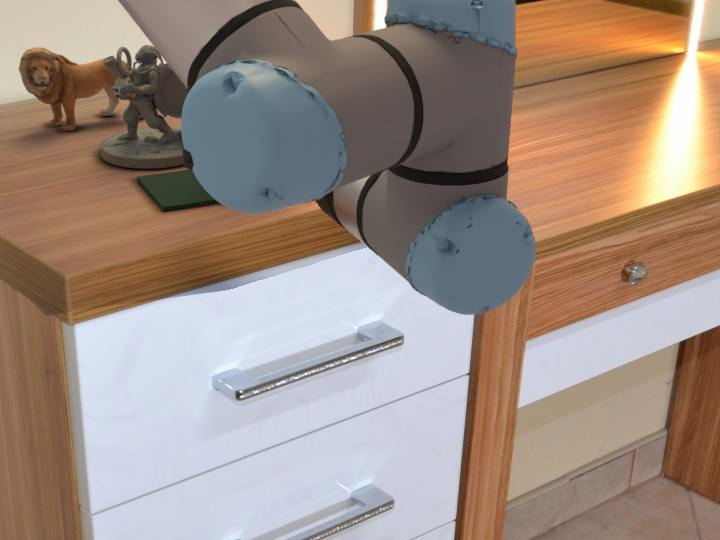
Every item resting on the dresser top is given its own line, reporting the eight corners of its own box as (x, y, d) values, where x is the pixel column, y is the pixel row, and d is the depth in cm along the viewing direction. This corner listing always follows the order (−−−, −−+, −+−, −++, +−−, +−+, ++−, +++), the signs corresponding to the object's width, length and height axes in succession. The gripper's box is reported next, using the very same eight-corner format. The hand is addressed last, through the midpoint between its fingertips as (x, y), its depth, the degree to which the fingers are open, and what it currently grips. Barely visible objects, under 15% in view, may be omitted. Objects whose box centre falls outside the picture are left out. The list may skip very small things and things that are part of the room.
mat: (163, 211, 101) (163, 207, 101) (136, 180, 109) (136, 176, 108) (349, 183, 108) (349, 179, 108) (312, 156, 116) (312, 152, 115)
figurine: (95, 142, 119) (82, 25, 114) (197, 133, 122) (190, 18, 117) (108, 174, 110) (96, 48, 105) (218, 162, 113) (212, 40, 108)
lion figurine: (41, 141, 119) (30, 55, 115) (17, 130, 123) (5, 46, 119) (161, 115, 128) (154, 34, 124) (135, 105, 132) (128, 26, 128)
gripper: (211, 265, 78) (130, 172, 95) (525, 211, 87) (400, 135, 104) (205, 159, 74) (122, 82, 91) (532, 115, 84) (402, 53, 101)
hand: (270, 110), depth 98 cm, fingers open, 13 cm apart
